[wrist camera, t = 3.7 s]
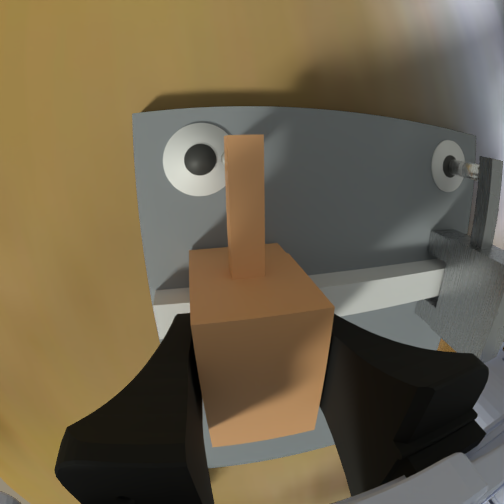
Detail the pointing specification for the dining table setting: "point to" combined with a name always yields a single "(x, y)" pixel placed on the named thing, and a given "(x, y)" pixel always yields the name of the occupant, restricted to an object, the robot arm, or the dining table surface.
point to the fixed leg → (470, 272)
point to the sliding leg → (255, 318)
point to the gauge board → (306, 217)
